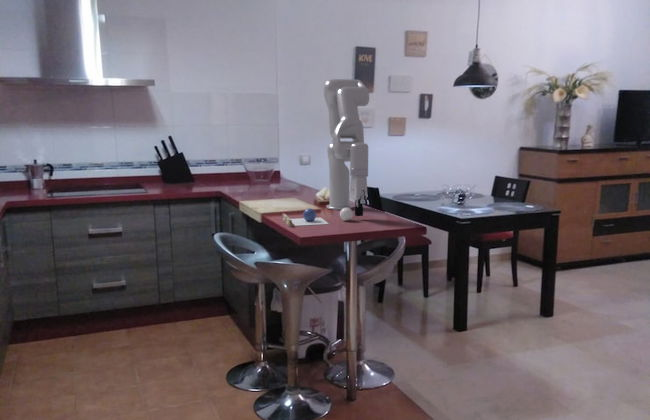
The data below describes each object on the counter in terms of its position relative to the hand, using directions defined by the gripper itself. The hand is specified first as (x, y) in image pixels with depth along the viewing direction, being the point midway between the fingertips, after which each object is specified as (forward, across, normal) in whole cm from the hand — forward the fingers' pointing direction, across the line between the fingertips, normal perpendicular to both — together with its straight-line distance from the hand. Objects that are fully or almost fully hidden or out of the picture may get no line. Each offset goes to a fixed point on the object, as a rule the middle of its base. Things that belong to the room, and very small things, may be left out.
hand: (358, 215), depth 228 cm
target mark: (+2, 0, -22) cm, 22 cm away
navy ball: (-1, 0, -21) cm, 21 cm away
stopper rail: (+2, 0, -31) cm, 31 cm away
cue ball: (-1, +2, -6) cm, 7 cm away
